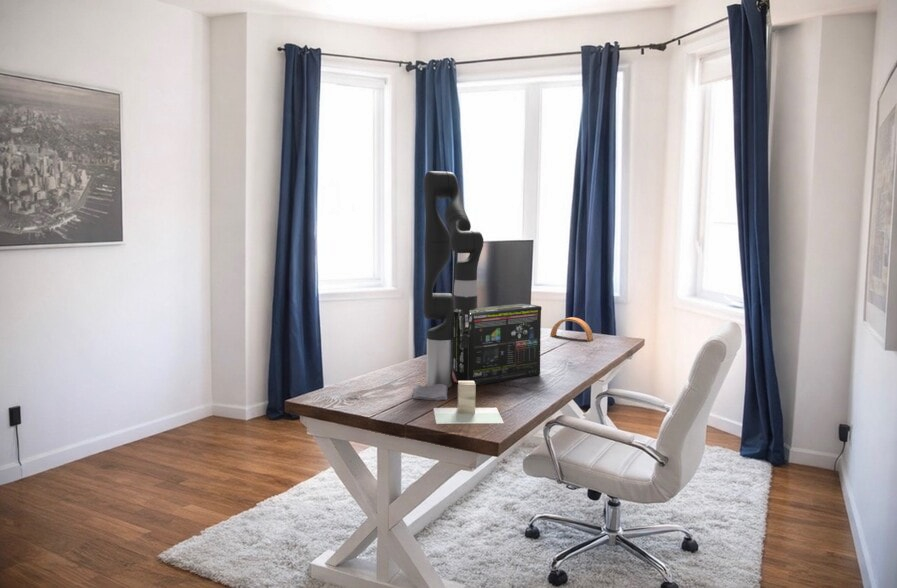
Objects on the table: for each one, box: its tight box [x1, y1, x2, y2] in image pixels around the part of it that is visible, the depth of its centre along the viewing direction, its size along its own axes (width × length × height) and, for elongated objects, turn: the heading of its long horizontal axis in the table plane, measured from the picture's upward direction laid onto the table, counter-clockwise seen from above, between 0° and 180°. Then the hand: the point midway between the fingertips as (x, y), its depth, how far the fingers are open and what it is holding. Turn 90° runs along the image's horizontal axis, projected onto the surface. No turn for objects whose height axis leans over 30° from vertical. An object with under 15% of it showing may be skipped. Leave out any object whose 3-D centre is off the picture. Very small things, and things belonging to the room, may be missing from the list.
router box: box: [452, 302, 543, 386], centre depth 265 cm, size 36×11×27 cm, turn 125°
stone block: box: [412, 384, 448, 401], centre depth 238 cm, size 12×5×10 cm
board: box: [433, 407, 505, 425], centre depth 217 cm, size 16×20×1 cm
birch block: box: [457, 381, 477, 413], centre depth 221 cm, size 5×5×9 cm
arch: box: [549, 317, 594, 342], centre depth 349 cm, size 6×20×10 cm, turn 59°
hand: (464, 347), depth 228 cm, fingers closed
